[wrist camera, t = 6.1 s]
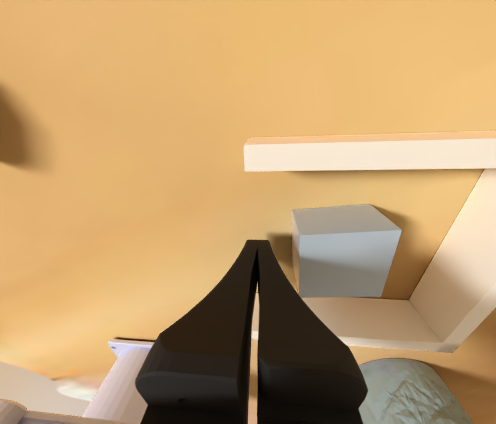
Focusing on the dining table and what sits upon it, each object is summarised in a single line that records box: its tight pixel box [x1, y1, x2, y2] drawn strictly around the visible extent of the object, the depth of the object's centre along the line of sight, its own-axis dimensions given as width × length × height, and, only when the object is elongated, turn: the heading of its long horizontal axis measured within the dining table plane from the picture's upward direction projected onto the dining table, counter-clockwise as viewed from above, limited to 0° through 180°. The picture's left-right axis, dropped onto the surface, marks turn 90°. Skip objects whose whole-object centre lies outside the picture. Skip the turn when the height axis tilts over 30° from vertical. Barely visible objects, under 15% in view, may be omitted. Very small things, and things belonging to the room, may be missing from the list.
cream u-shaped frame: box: [244, 130, 496, 353], centre depth 10 cm, size 13×13×3 cm
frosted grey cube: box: [292, 204, 402, 298], centre depth 11 cm, size 4×4×3 cm
